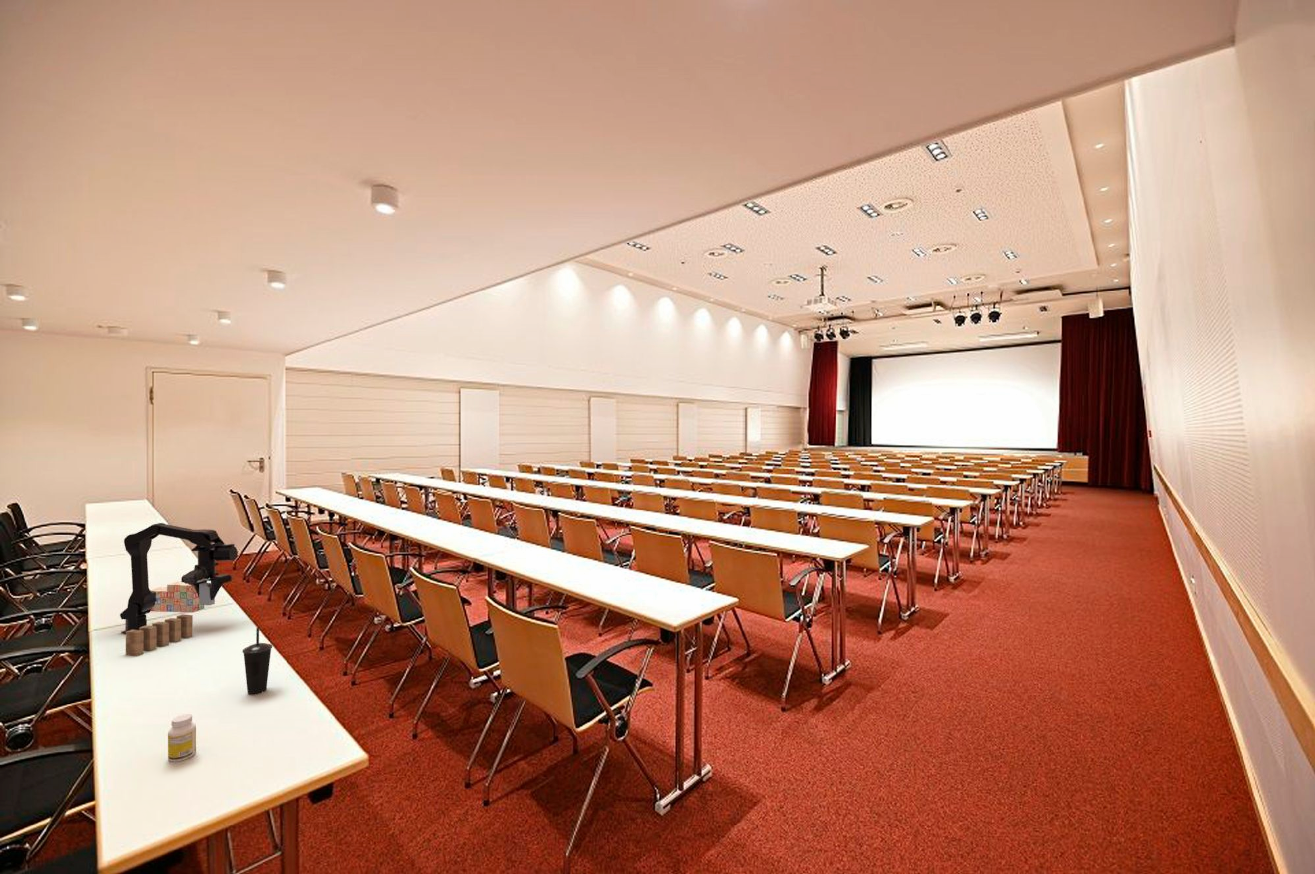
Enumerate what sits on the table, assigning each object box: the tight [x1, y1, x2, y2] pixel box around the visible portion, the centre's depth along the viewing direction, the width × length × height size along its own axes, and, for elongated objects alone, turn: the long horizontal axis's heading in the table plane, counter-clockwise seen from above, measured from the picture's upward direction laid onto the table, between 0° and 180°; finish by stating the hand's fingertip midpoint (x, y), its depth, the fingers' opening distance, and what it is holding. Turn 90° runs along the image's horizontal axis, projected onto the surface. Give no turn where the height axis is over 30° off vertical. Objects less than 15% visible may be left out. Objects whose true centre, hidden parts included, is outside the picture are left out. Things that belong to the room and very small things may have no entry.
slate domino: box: [199, 582, 216, 606], centre depth 233 cm, size 5×2×8 cm, turn 80°
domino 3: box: [151, 621, 170, 648], centre depth 215 cm, size 5×2×8 cm, turn 79°
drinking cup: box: [242, 627, 273, 696], centre depth 179 cm, size 8×8×20 cm
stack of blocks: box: [150, 580, 205, 613], centre depth 258 cm, size 21×6×12 cm, turn 88°
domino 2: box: [139, 625, 157, 653], centre depth 211 cm, size 5×2×8 cm, turn 79°
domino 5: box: [176, 613, 194, 640], centre depth 224 cm, size 5×2×8 cm, turn 79°
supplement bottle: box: [167, 713, 197, 763], centre depth 143 cm, size 5×5×10 cm
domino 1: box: [125, 630, 144, 657], centre depth 207 cm, size 5×2×8 cm, turn 79°
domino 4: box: [164, 617, 182, 644], centre depth 220 cm, size 5×2×8 cm, turn 79°
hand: (206, 599), depth 233 cm, fingers closed on slate domino, 5 cm apart
